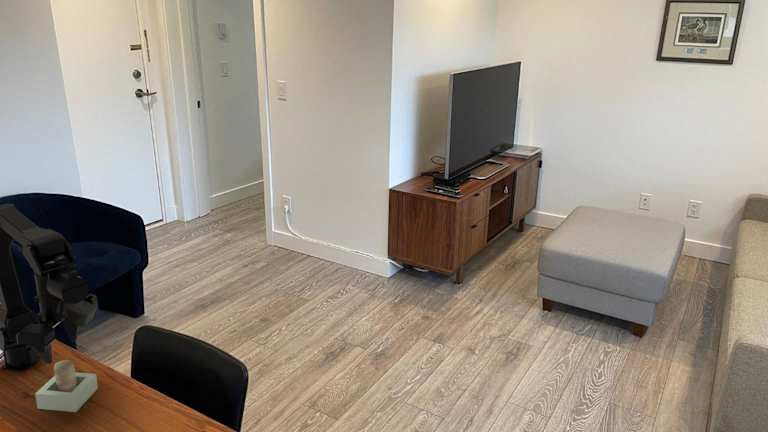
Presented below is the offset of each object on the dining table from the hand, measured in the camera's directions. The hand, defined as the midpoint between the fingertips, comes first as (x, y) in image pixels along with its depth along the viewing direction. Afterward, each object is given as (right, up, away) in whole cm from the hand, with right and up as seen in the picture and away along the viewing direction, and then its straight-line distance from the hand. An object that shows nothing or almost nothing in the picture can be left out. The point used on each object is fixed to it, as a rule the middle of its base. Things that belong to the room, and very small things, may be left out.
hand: (61, 351), depth 132 cm
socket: (0, -12, +3) cm, 12 cm away
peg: (0, -12, +3) cm, 12 cm away
